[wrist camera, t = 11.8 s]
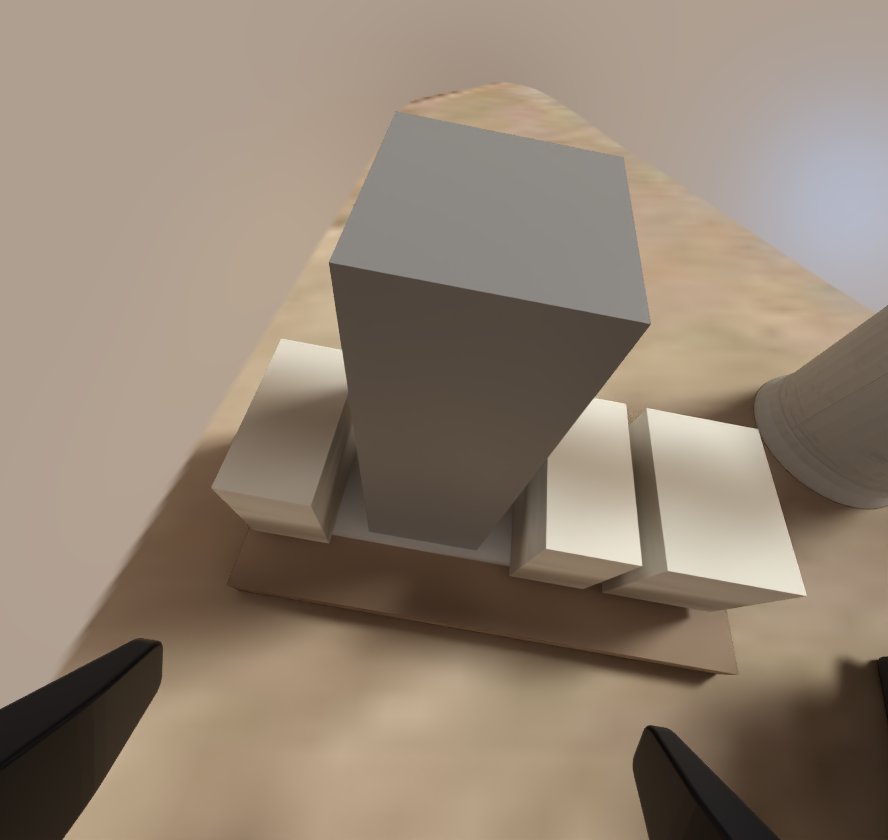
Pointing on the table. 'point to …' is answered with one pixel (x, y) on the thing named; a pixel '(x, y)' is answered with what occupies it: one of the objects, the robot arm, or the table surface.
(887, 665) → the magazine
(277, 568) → the board
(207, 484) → the table surface
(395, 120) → the block
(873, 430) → the glass holder
